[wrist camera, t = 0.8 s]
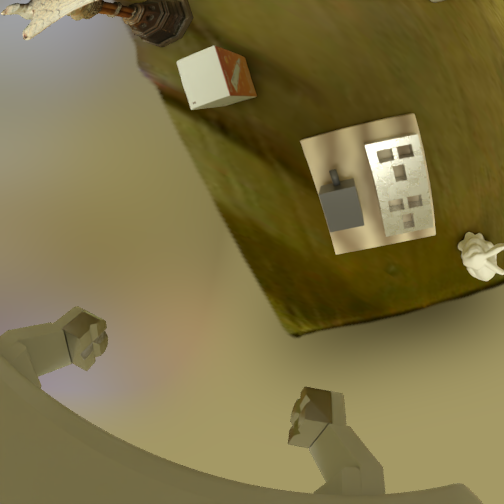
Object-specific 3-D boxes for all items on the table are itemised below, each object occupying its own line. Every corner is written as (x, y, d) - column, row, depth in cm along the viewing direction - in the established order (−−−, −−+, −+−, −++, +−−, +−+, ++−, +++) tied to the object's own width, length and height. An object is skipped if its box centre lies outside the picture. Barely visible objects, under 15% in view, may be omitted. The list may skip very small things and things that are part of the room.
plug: (349, 161, 42) (350, 170, 37) (362, 209, 45) (364, 225, 40) (317, 169, 44) (313, 179, 39) (331, 216, 48) (330, 232, 43)
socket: (413, 132, 36) (417, 134, 34) (429, 221, 42) (433, 227, 40) (363, 143, 40) (364, 145, 38) (384, 230, 46) (385, 236, 44)
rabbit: (447, 241, 44) (466, 276, 35) (478, 210, 39) (505, 239, 29) (473, 276, 46) (491, 313, 36) (502, 249, 40) (525, 282, 30)
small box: (258, 96, 43) (230, 96, 32) (225, 106, 45) (189, 111, 34) (245, 55, 39) (214, 44, 28) (213, 67, 41) (174, 61, 31)
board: (411, 113, 36) (414, 113, 34) (433, 230, 44) (435, 234, 43) (301, 139, 44) (299, 141, 43) (336, 249, 53) (335, 254, 51)
